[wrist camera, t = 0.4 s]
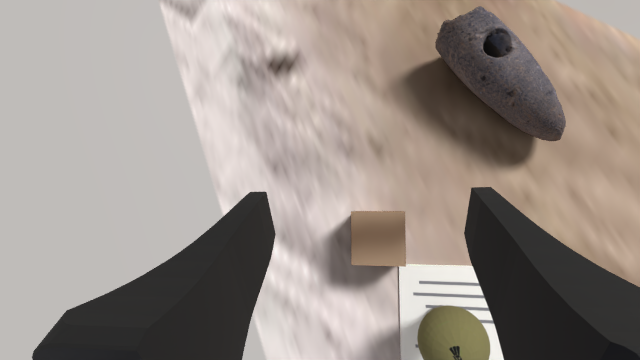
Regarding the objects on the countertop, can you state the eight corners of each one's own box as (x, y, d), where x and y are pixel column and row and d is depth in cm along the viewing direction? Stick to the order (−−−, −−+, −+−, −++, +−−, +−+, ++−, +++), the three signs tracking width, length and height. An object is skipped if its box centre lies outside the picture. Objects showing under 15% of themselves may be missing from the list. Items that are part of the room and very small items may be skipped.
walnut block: (403, 258, 38) (406, 266, 33) (356, 257, 38) (351, 265, 34) (402, 211, 38) (404, 211, 33) (355, 211, 39) (351, 211, 34)
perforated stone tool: (566, 129, 36) (609, 111, 29) (522, 162, 36) (553, 151, 29) (466, 23, 38) (483, -17, 31) (426, 55, 39) (434, 22, 32)
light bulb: (400, 314, 37) (404, 353, 27) (438, 275, 36) (456, 301, 27) (442, 355, 36) (462, 412, 26) (481, 316, 35) (517, 359, 26)
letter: (550, 373, 34) (551, 374, 34) (400, 362, 37) (400, 363, 37) (545, 267, 35) (546, 267, 35) (398, 263, 38) (398, 264, 37)
